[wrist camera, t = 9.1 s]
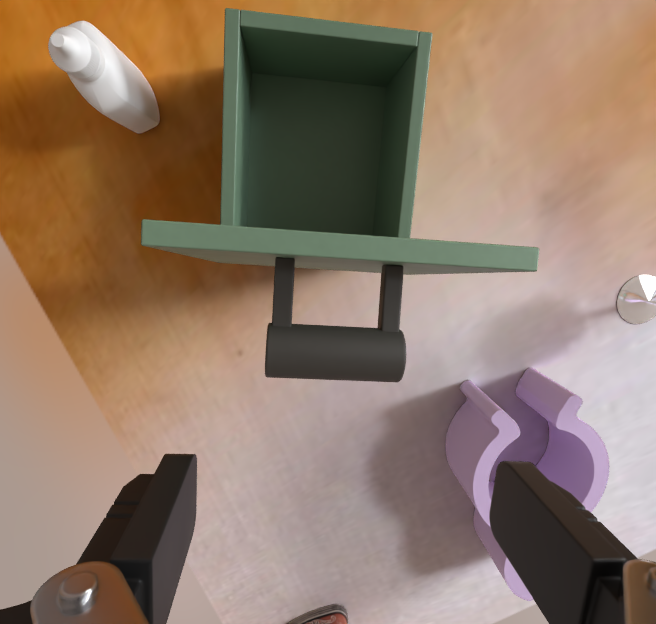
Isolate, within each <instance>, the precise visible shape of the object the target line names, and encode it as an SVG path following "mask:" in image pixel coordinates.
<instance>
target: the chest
mask: <svg viewBox="0 0 656 624" xmlns="http://www.w3.org/2000/svg"><path fill="white" fill-rule="evenodd" d="M431 42H432V33H429V32H421V31H420V32H418V31H413V30H405V29H396V28H388V27H380V26H371V25H363V24H355V23H346V22H338V21H330V20H321V19H313V18H305V17H296V16H288V15H280V14H271V13H263V12H255V11H246V10H241V11H240V10H238V9H229V8H226V9H225V34H224V80H223V126H222V172H221V218H220V225H230V226H244V227H258V228H272V229H286V230H300V231H314V232H328V233H342V234H356V235H370V236H384V237H398V238H410V233H411V224H412V215H413V206H414V197H415V188H416V178H417V169H418V160H419V151H420V142H421V133H422V124H423V115H424V106H425V97H426V88H427V79H428V69H429V60H430V51H431Z"/></svg>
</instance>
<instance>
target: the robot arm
mask: <svg viewBox="0 0 656 624" xmlns="http://www.w3.org/2000/svg"><path fill="white" fill-rule="evenodd" d="M196 495H197V458H196V455H195V454H165V455H164V456H163V458H162V460H161V462H160V464H159V466H158V468H157V470H156V472H155V474H140V475H138V476H137V477H136V478H134V479H133V480H132V481H130V482H129V483H128V484H127V485H125V486H124V487H123V488H122V490H121V492H120V493H119V495H118V497H117V499H116V500H115V502H114V505H112V506H111V508H110V510H109V511H108V513H107V516H106V518H104V520H103V522H102V523H101V524H100V526H99V528H98V529H97V531H96V533H95V534H94V536H93V538H92V539H91V541H90V543H89V544H88V546H87V548H86V549H85V551H84V552H83V554H82V556H81V557H80V559H79V561H78V562H77V564H76V565H74V566H71V567H68V568H66V569H64V570H62V571H60V572H59V573H57V574H55V575H54V576H52V577H51V578H50V579H49V580H47V581H46V582H45V583H44V584H43V585H42V586H41V587H40V588H39V590H38V591H37V592H36V594H35V596H34V597H33V600H31V601H29V602H26V603H23V604H20V605H17V606H13V607H10V608H6V609H1V610H0V624H166V623H167V619H168V616H169V613H170V609H171V606H172V602H173V599H174V596H175V593H176V589H177V586H178V583H179V579H180V576H181V573H182V569H183V566H184V563H185V560H186V556H187V553H188V550H189V546H190V543H191V540H192V536H193V532H194V526H195V519H196ZM489 520H490V527H491V531H492V533H493V536H494V538H495V540H496V541H497V543H498V544H499V546H500V547H501V549H502V551H503V552H504V554H505V555H506V557H507V558H508V560H509V561H510V563H511V565H512V566H513V568H514V569H515V571H516V572H517V574H518V576H519V577H520V579H521V580H522V582H523V583H524V585H525V587H526V588H527V590H528V591H529V593H530V594H531V596H532V597H533V599H534V601H535V602H536V604H537V605H538V607H539V608H540V610H541V612H542V613H543V615H544V616H545V618H546V619H547V621H548V622H549V624H656V562H652V561H648V560H642V559H637V558H636V557H635V556H634V555H633V554H632V553H631V552H630V551H629V550H628V549H627V548H626V547H625V546H624V545H623V544H622V543H621V542H620V541H619V540H618V539H617V538H616V537H615V536H614V535H613V534H612V533H611V532H610V531H609V530H608V529H607V528H606V527H605V526H604V525H603V524H602V523H601V522H598V521H597V518H596V517H595V516H594V515H593V514H592V513H591V512H590V511H589V510H586V509H585V506H584V505H583V504H581V503H580V502H579V501H578V500H577V499H576V498H575V497H574V496H573V495H572V494H571V493H570V492H568V491H567V490H565V489H563V488H562V487H560V486H559V485H557V484H555V483H554V482H552V481H549V480H548V479H547V478H546V477H545V476H544V475H543V474H542V473H541V472H540V471H539V470H538V469H537V467H536V466H535V465H534V464H532V463H531V462H516V461H502V462H500V463H499V465H498V467H497V470H496V476H495V482H494V488H493V494H492V500H491V506H490V512H489Z"/></svg>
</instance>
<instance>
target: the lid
mask: <svg viewBox="0 0 656 624" xmlns="http://www.w3.org/2000/svg"><path fill="white" fill-rule="evenodd" d="M141 245H142V246H146V247H151V248H155V249H160V250H164V251H169V252H173V253H178V254H182V255H187V256H191V257H195V258H200V259H204V260H209V261H213V262H218V263H231V264H247V265H263V266H275V275H274V295H273V314H272V323H269V324H268V328H267V340H266V357H265V376H266V377H272V378H298V379H325V380H351V381H378V382H399V381H400V380H401V379H402V377H403V374H404V370H405V364H406V343H405V338H404V335H403V332H402V331H401V330H399V325H400V311H401V297H402V284H403V274H406V275H413V274H453V273H494V272H535V271H537V266H538V255H539V248H537V247H524V246H510V245H496V244H482V243H468V242H454V241H440V240H426V239H412V238H398V237H384V236H370V235H356V234H342V233H328V232H314V231H300V230H286V229H272V228H258V227H244V226H230V225H216V224H202V223H188V222H174V221H160V220H146V219H143V220H142V227H141ZM295 268H310V269H326V270H342V271H358V272H374V273H381V287H380V302H379V316H378V328H363V327H343V326H323V325H303V324H292V305H293V287H294V269H295Z"/></svg>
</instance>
